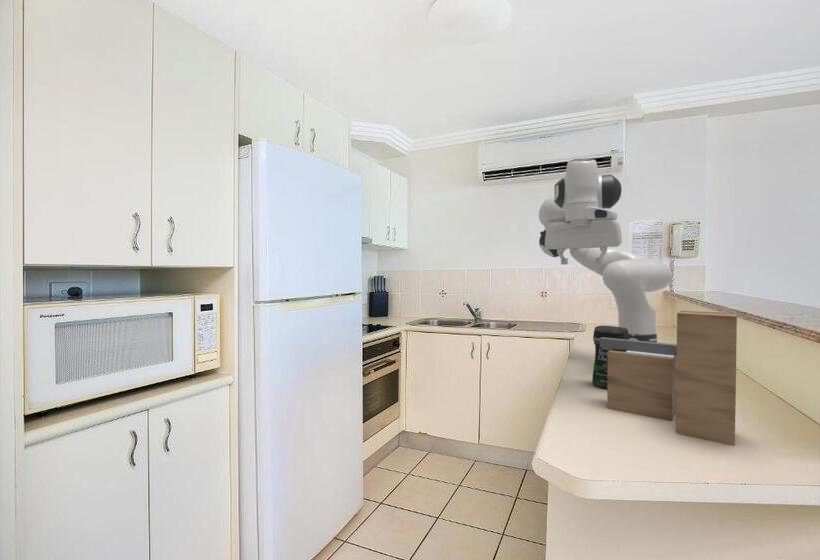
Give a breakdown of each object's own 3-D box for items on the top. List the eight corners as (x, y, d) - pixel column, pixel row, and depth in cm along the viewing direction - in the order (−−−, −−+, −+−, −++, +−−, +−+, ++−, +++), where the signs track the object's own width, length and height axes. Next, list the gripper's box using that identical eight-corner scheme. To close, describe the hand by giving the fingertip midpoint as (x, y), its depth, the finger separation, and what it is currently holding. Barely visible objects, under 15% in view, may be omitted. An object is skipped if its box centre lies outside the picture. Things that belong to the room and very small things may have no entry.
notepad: (631, 349, 106) (631, 347, 106) (676, 354, 100) (676, 352, 100) (625, 353, 101) (625, 351, 101) (673, 358, 94) (673, 357, 94)
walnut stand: (614, 400, 109) (615, 304, 109) (735, 422, 93) (736, 310, 93) (598, 416, 97) (599, 309, 96) (734, 445, 81) (736, 316, 80)
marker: (595, 345, 110) (595, 335, 110) (705, 357, 94) (705, 346, 94) (593, 346, 108) (593, 337, 108) (704, 358, 92) (704, 347, 92)
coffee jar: (588, 386, 123) (589, 325, 122) (598, 381, 128) (599, 323, 128) (623, 393, 116) (623, 328, 115) (631, 387, 121) (632, 326, 121)
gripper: (541, 217, 118) (541, 264, 118) (618, 210, 105) (617, 263, 105) (549, 219, 123) (548, 264, 123) (623, 213, 110) (622, 263, 110)
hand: (581, 264), depth 114 cm, fingers open, 8 cm apart
